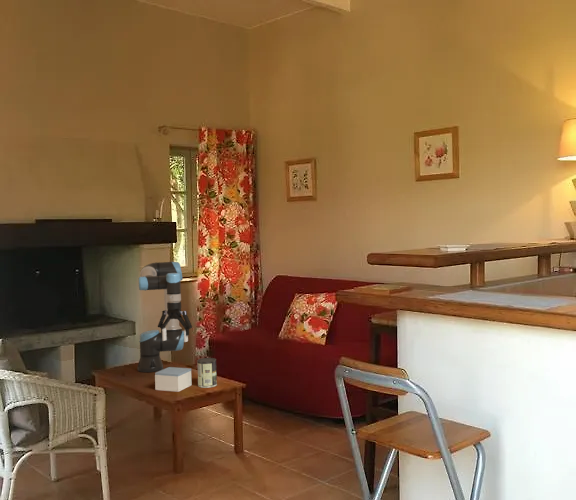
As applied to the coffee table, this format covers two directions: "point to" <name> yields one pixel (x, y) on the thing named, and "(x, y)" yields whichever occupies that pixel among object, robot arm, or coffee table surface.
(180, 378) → the box
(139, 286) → the robot arm
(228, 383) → the coffee table surface
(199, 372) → the coffee can
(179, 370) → the lid
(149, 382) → the coffee table surface
